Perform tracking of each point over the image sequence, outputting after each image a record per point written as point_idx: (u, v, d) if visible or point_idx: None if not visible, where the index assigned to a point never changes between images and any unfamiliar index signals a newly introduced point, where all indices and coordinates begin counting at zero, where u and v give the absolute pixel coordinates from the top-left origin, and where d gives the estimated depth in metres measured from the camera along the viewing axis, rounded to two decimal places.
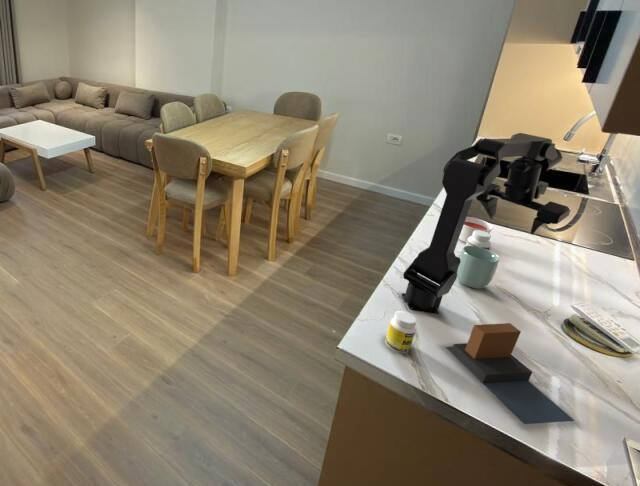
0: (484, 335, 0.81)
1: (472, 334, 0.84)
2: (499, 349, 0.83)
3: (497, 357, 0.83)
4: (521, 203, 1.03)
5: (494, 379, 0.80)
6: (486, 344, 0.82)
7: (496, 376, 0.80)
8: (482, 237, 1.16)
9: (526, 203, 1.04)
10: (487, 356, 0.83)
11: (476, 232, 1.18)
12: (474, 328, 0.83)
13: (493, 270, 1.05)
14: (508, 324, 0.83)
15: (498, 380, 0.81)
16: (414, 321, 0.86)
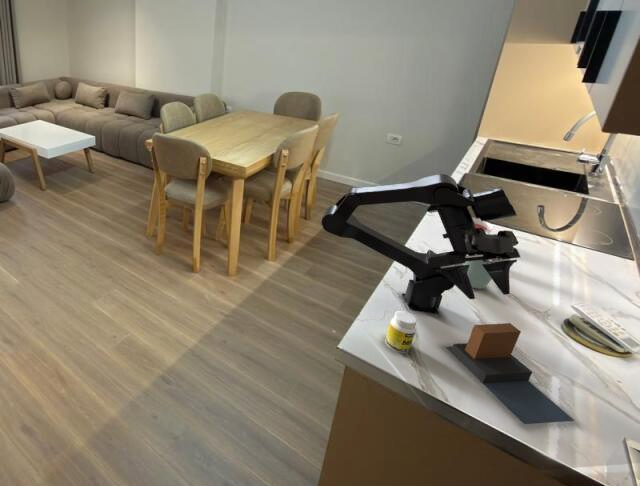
0: (484, 335, 0.81)
1: (472, 334, 0.84)
2: (499, 349, 0.83)
3: (497, 357, 0.83)
4: None
5: (494, 379, 0.80)
6: (486, 344, 0.82)
7: (496, 376, 0.80)
8: None
9: None
10: (487, 356, 0.83)
11: None
12: (474, 328, 0.83)
13: None
14: (508, 324, 0.83)
15: (498, 380, 0.81)
16: (414, 321, 0.86)
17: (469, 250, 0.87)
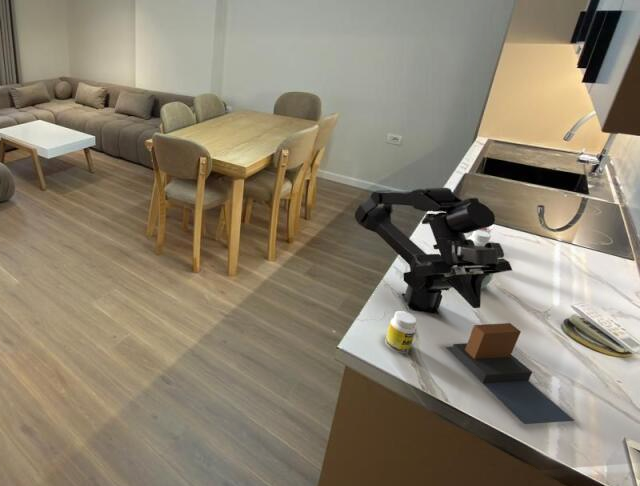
0: (484, 335, 0.81)
1: (472, 334, 0.84)
2: (499, 349, 0.83)
3: (497, 357, 0.83)
4: None
5: (494, 379, 0.80)
6: (486, 344, 0.82)
7: (496, 376, 0.80)
8: (482, 237, 1.16)
9: None
10: (487, 356, 0.83)
11: (476, 232, 1.18)
12: (474, 328, 0.83)
13: None
14: (508, 324, 0.83)
15: (498, 380, 0.81)
16: (414, 321, 0.86)
17: (455, 261, 0.88)
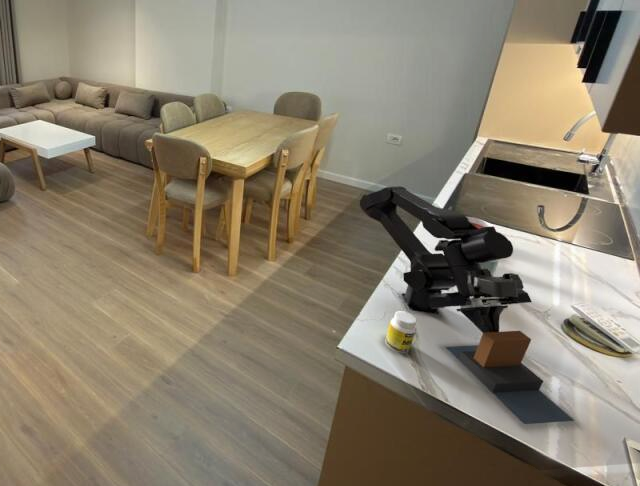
0: (494, 344, 0.79)
1: (481, 342, 0.82)
2: (509, 357, 0.81)
3: (507, 365, 0.81)
4: None
5: (504, 389, 0.78)
6: (496, 352, 0.80)
7: (506, 385, 0.78)
8: None
9: None
10: (496, 364, 0.81)
11: None
12: (483, 336, 0.81)
13: (493, 270, 1.05)
14: (518, 332, 0.81)
15: (508, 389, 0.79)
16: (414, 321, 0.86)
17: (471, 292, 0.85)
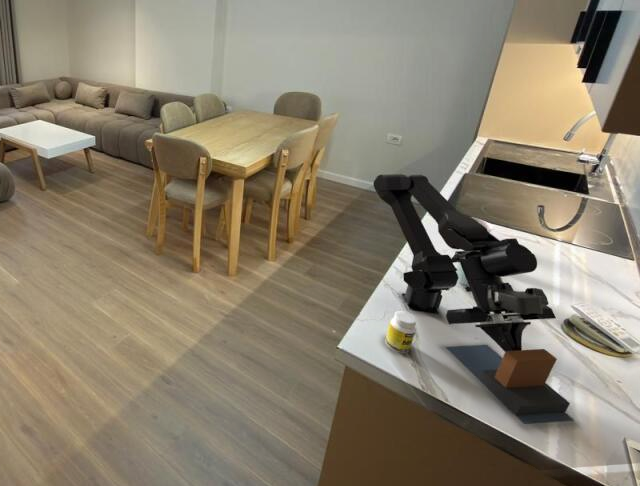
0: (517, 363, 0.75)
1: (503, 361, 0.77)
2: (533, 377, 0.76)
3: (530, 386, 0.77)
4: None
5: (529, 411, 0.74)
6: (519, 372, 0.76)
7: (531, 408, 0.74)
8: None
9: None
10: (519, 385, 0.77)
11: None
12: (505, 354, 0.77)
13: None
14: (542, 350, 0.77)
15: (532, 412, 0.74)
16: (414, 321, 0.86)
17: (492, 307, 0.80)
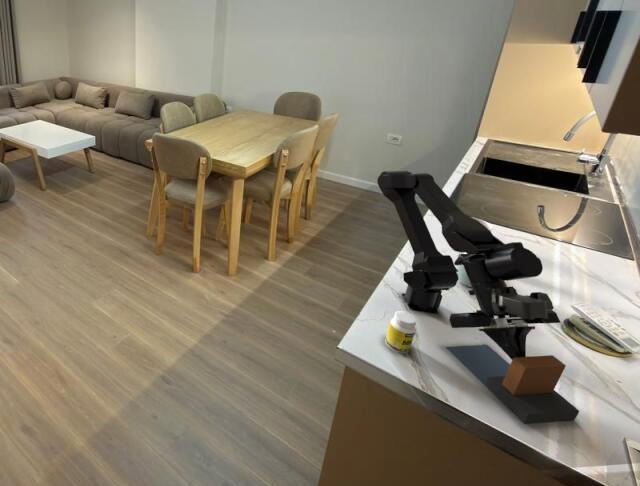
0: (526, 370, 0.73)
1: (511, 367, 0.76)
2: (541, 384, 0.75)
3: (538, 393, 0.76)
4: None
5: (537, 419, 0.72)
6: (527, 380, 0.74)
7: (539, 416, 0.72)
8: None
9: None
10: (527, 392, 0.75)
11: None
12: (513, 361, 0.75)
13: None
14: (551, 357, 0.75)
15: (541, 420, 0.73)
16: (414, 321, 0.86)
17: (496, 312, 0.79)
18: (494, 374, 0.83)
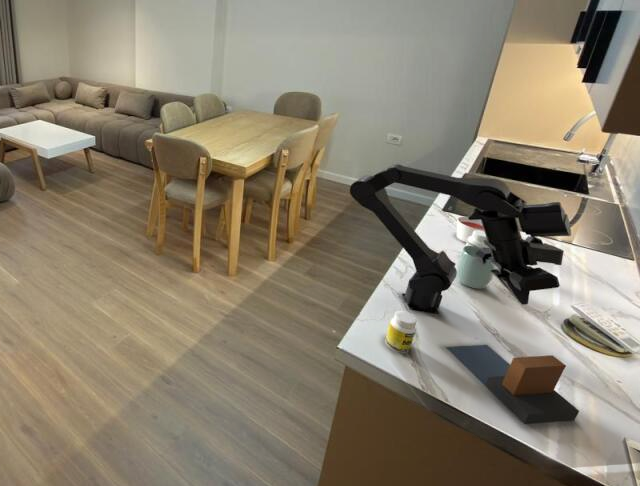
0: (526, 370, 0.73)
1: (511, 367, 0.76)
2: (541, 384, 0.75)
3: (538, 393, 0.76)
4: (500, 265, 0.86)
5: (537, 419, 0.72)
6: (527, 380, 0.74)
7: (539, 416, 0.72)
8: (482, 237, 1.16)
9: (509, 267, 0.85)
10: (527, 392, 0.75)
11: (476, 232, 1.18)
12: (513, 361, 0.75)
13: None
14: (551, 357, 0.75)
15: (541, 420, 0.73)
16: (414, 321, 0.86)
17: (532, 263, 0.83)
18: (494, 374, 0.83)
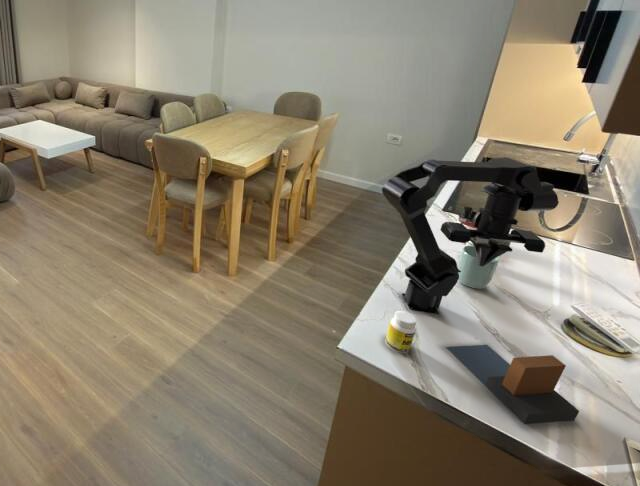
0: (526, 370, 0.73)
1: (511, 367, 0.76)
2: (541, 384, 0.75)
3: (538, 393, 0.76)
4: (509, 237, 0.92)
5: (537, 419, 0.72)
6: (527, 380, 0.74)
7: (539, 416, 0.72)
8: None
9: None
10: (527, 392, 0.75)
11: None
12: (513, 361, 0.75)
13: (493, 270, 1.05)
14: (551, 357, 0.75)
15: (541, 420, 0.73)
16: (414, 321, 0.86)
17: None
18: (494, 374, 0.83)
